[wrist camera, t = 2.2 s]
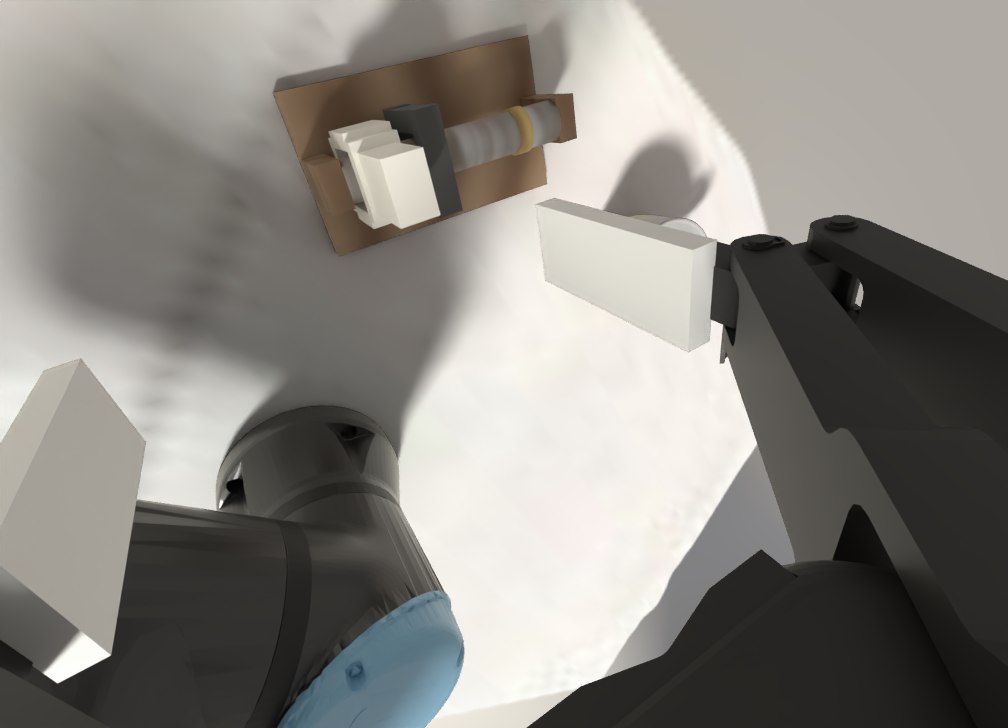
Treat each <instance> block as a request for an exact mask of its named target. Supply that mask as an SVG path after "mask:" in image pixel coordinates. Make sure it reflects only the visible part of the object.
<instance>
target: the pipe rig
mask: <svg viewBox="0 0 1008 728" xmlns="http://www.w3.org/2000/svg"><path fill="white" fill-rule="evenodd" d="M273 95H274V98H275V100H276V103H277V105H278V108H279V110H280V113H281V115H282V118H283V120H284V123H285V125H286V128H287V131H288V133H289V136H290V138H291V141H292V143H293V146H294V148H295V151H296V153H297V156H298V158H299V161H300V163H301V166H302V168H303V171H304V173H305V176H306V178H307V181H308V183H309V186H310V188H311V191H312V193H313V196H314V199H315V201H316V204H317V206H318V209H319V211H320V214H321V216H322V219H323V221H324V224H325V226H326V229H327V231H328V234H329V236H330V239H331V241H332V244H333V246H334V249H335V251H336V254H337V255H338V256H342V255H345V254H347V253H350V252H353V251H356V250H359V249H362V248H365V247H368V246H370V245H373V244H376V243H379V242H382V241H385V240H388V239H391V238H393V237H396V236H399V235H402V234H405V233H408V232H411V231H413V230H416V229H419V228H422V227H425V226H428V225H431V224H434V223H436V222H439V221H442V220H445V219H448V218H451V217H454V216H457V215H459V214H462V213H465V212H468V211H471V210H474V209H477V208H480V207H482V206H485V205H488V204H491V203H494V202H497V201H500V200H503V199H505V198H508V197H511V196H514V195H517V194H520V193H523V192H525V191H528V190H531V189H534V188H537V187H540V186H543V185H546V184H547V178H546V171H545V163H544V155H543V148H542V145H543V144H547V143H550V142H553V143H563V142H566V141H569V140H572V139H576V138H577V135H576V124H575V113H574V102H573V93H571V94H543V95H536V94H535V86H534V79H533V71H532V64H531V56H530V48H529V41H528V35H527V36H523V37H518V38H514V39H509V40H505V41H500V42H496V43H492V44H487V45H483V46H478V47H474V48H469V49H465V50H461V51H456V52H452V53H447V54H443V55H438V56H434V57H430V58H425V59H421V60H416V61H412V62H407V63H403V64H398V65H394V66H390V67H385V68H381V69H376V70H372V71H367V72H363V73H359V74H354V75H350V76H345V77H341V78H336V79H332V80H328V81H323V82H319V83H314V84H310V85H305V86H301V87H297V88H292V89H288V90H283V91H279V92H274V93H273ZM402 104H410V105H427V104H438V105H439V109H440V113H441V118H442V122H443V126H444V130H445V135H446V139H447V143H448V148H449V152H450V156H451V161H452V165H453V169H454V174H455V178H456V182H457V187H458V191H459V195H460V200H461V204H462V208H463V211H460V212H457V213H454V214H451V215H448V216H445V217H443V218H441V217H439V216H437V217H434V218H431V219H428V220H426V221H423V222H420V223H417V224H414V225H411V226H408V227H405V228H402V229H400V228H399V227H397V226H396V225H394V224H392V223H391V224H388V225H385V226H382V227H379V228H376V229H373V228H372V227H370V226H369V225H367V224H366V223H364V222H363V221H362V220H360V219H359V217H358V214H357V212H356V211H354V210H353V209H356V208H355V205H354V204H356V203H360V202H363V201H364V199H363V196H362V193H361V190H360V187H359V184H358V181H357V178H356V175H355V172H354V170H353V167H352V164H351V161H350V158H349V156H346V157H343V158H339V159H336V158H335V157H334V154H333V151H332V148H331V146H330V143H329V140H328V138H330V135H329V132H328V131H332V130H335V129H339V128H343V127H347V126H351V125H355V124H358V123H362V122H366V121H370V120H381V121H385V117H384V114H383V110H382V109H386V108H390V107H394V106H398V105H402ZM400 142H401V143H403V144H409V145H414V146H416V145H415V141H414V138H410V139H407V140H403V141H400Z"/></svg>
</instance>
